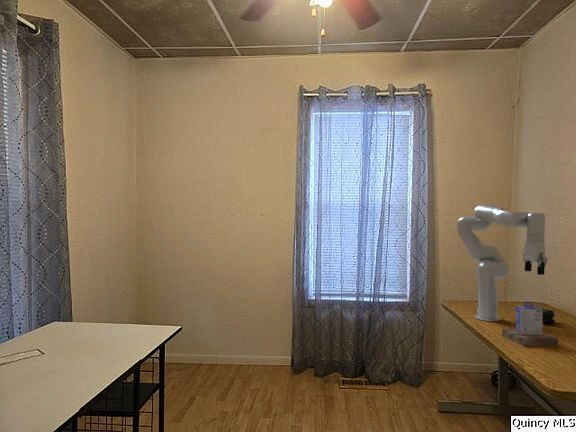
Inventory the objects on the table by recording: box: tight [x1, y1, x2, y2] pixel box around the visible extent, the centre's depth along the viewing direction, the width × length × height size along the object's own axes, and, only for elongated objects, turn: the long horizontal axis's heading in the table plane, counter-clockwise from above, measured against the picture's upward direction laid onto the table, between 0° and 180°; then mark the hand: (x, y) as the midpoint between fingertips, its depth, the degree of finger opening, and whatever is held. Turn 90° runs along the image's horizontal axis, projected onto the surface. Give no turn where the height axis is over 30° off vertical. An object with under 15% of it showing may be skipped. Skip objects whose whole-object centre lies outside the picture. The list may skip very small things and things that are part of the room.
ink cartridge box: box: [515, 301, 543, 335], centre depth 194 cm, size 10×6×14 cm, turn 82°
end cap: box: [541, 307, 556, 326], centre depth 225 cm, size 10×7×7 cm
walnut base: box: [502, 328, 559, 347], centre depth 194 cm, size 16×16×3 cm
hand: (534, 272), depth 206 cm, fingers open, 9 cm apart
